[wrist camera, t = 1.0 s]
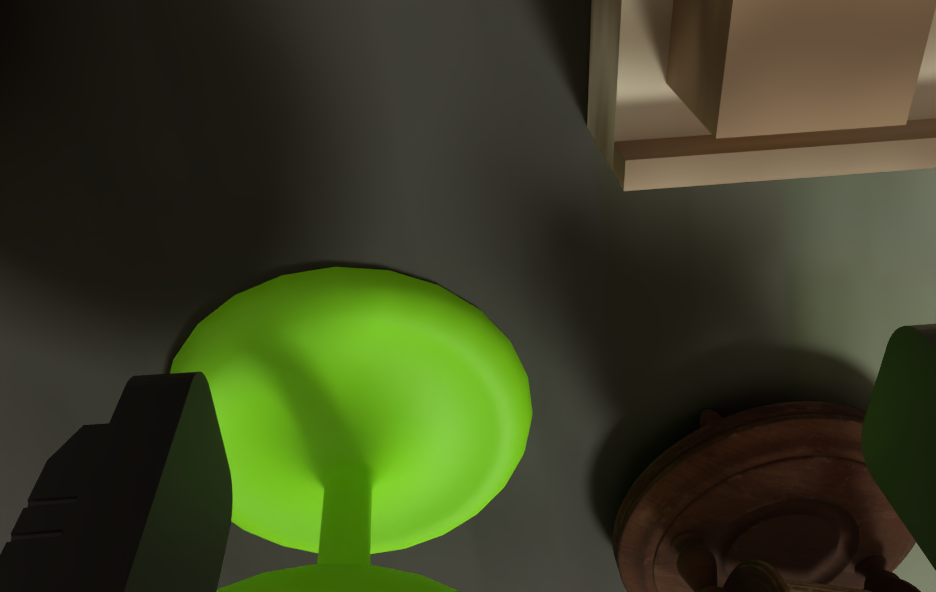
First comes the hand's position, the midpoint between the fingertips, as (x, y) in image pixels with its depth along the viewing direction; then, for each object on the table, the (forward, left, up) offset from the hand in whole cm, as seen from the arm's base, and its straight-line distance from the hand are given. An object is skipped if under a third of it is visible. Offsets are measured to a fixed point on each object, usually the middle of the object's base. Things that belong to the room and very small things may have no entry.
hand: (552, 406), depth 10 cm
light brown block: (-1, +9, -16) cm, 19 cm away
